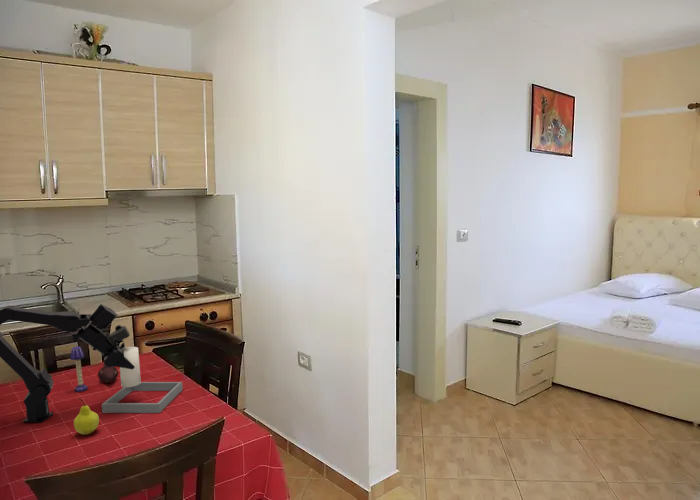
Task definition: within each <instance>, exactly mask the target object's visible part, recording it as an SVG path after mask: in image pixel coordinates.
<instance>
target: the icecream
mask: <svg viewBox="0 0 700 500" xmlns="http://www.w3.org/2000/svg"><path fill="white" fill-rule="evenodd" d="M119 374H120V371H118V369H117V367H114V366H112V367H109V368H108V367H107V366H105V365H104V364H103V365H102V367H101V368H100V369H99V371H97V376H98V378H99V381H100V382H102V383H103V382H104V383H105V384H108V383H113V382H114V381H115V380H116V379H117V377H118V375H119Z"/></svg>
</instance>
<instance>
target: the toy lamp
mask: <svg viewBox="0 0 700 500" xmlns="http://www.w3.org/2000/svg"><path fill="white" fill-rule="evenodd" d="M70 351H71V352H70V356H69V358H70V360H71V361H75V370H76V377H77V378H76V379H77V386H75V388H74V392H76V393H83V392H85V391H87V390H88V386H87V384H84V378H83V373H82V372H83V370H82V362H81V359H83V358H85V354H84V352H83V350H82V347H81V346H73V347H72V348H71V350H70Z"/></svg>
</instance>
